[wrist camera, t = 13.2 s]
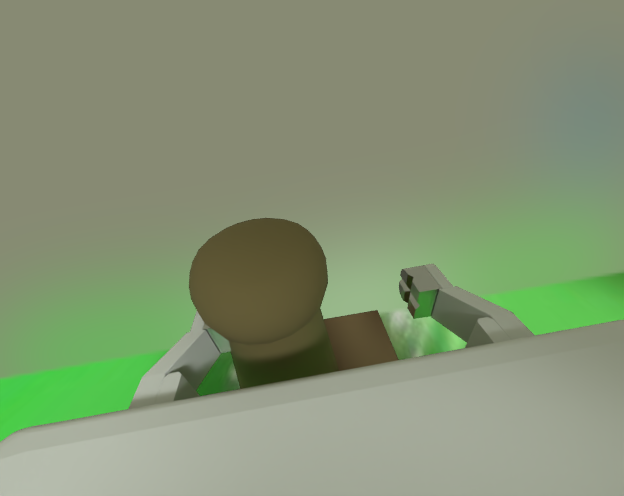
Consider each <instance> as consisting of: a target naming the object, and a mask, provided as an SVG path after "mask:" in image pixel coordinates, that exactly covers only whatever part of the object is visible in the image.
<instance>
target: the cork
mask: <svg viewBox="0 0 624 496" xmlns="http://www.w3.org/2000/svg"><path fill="white" fill-rule="evenodd" d="M327 284H328V275H327V265H326V258H325V255H324V253H323V250H322V248H321V246H320V245H319V243H318V242H317V240H316V239H315V237H314V236H313V235H312V234H311V233H310V232H309V231H308V230H307V229H305V228H304V227H302V226H301V225H299V224H298V223H294V222H291V221H288V220H284V219H273V218H262V219H252V220H248V221H244V222H241V223H237V224H235V225H233V226H230V227H228V228H226V229H224V230H222V231H221V232H219V233H218V234H216V235H215V236H213V237H212V238H210V239H209V240H208V241H207V242H206V243H205V244H204V245H203V246H202V247H201V248H200V249H199V250H198V252H197V255H196V256H195V258H194V260H193V262H192V266H191V270H190V279H189V289H190V295H191V300H192V302H193V304H194V305H195V307H196V309H197V311H198V313H199V315H200V317H201V318H202V320H203V321H204V323H205V324H206V325H207V326H209V327H210V328H211V329H213V330H214V331H216V332H217V333H218V334H220V335H221V336H223V337H224V338H225V339H227V340H228V341H229V344H230V348H231V355H232V358H233V362H234V366H235V370H236V373H237V377H238V381H239V385H240V388H241V389H243V388H249V387H254V386H260V385H265V384H271V383H276V382H282V381H287V380H293V379H298V378H304V377H309V376H315V375H320V374H326V373H331V372H337V371H339V368H338V364H337V361H336V358H335V355H334V351H333V348H332V345H331V342H330V339H329V335H328V332H327V329H326V326H325V322H324V319H323V316H322V313H321V309H320V306H321V304H322V300H323V297H324V294H325V291H326V287H327Z"/></svg>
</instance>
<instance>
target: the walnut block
mask: <svg viewBox="0 0 624 496" xmlns="http://www.w3.org/2000/svg"><path fill="white" fill-rule="evenodd" d="M324 322H325V326H326V329H327V332H328V335H329V339H330V342H331V345H332V348H333V351H334V355H335V358H336V361H337V364H338V368H339V371H343V370H348V369H354V368H359V367H365V366H370V365H375V364H381V363H386V362H392V361H397V360H398V358H397V355H396V353H395V350H394V348H393V346H392V343H391V341H390V339H389V336H388V334H387V332H386V329H385V327H384V325H383V322H382V320H381V318H380V315H379V313H378V311H377V310H376V311H370V312H364V313H358V314H352V315H347V316H341V317H335V318H329V319H324Z"/></svg>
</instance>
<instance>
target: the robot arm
mask: <svg viewBox="0 0 624 496" xmlns="http://www.w3.org/2000/svg"><path fill="white" fill-rule="evenodd" d="M401 277H402V280H401V281H400V282H399V290H400V294H401V297H402V299H403V300H404V301H405V302H407V303H408V309H409V311H410V313H411V315H412V316H413V318H414V319H416V318H422V317H429V316H432V318H433V319H435V320H436V321H438V322H439V323H440V324H442V325H443V326H445V327H446V328H447V329H449V330H450V331H452V332H453V333H454V334H456V335H457V336H459V337H460V338H461V339H463V340H464V341H465V342H467V344H466V347H465V348H463V349H458V350H452V351H447V352H441V353H436V354H430V355H425V356H419V357H414V358H408V359H403V360H397V361H392V362H386V363H381V364H375V365H370V366H365V367H359V368H354V369H348V370H343V371H337V372H331V373H326V374H320V375H315V376H309V377H304V378H298V379H293V380H287V381H282V382H276V383H271V384H265V385H260V386H254V387H249V388H243V389H238V390H232V391H227V392H221V393H216V394H210V395H205V396H200V395H199V394H198V393H197V392H196V390H197V388H198V387H199V385H200V384H201V382H202V381H203V379H204V378H205V376H206V375H207V373H208V372H209V370H210V369H211V367H212V366H213V365H214V363H215V362H216V360H217V359H218V357H219V356H220V353H224V352H229V351H231V348H230V344H229V341H228V340H227V339H225V338H224V337H223V336H221V335H220V334H218V333H217V332H216V331H214V330H213V329H211V328H210V327H209V326H207V325H206V324H205V323H204V321H203V320H202V318H201V317H200V315H199V313H198V311H197V312H196V315H195V318H194V321H193V324H192V328H191V330H190V332H189V333H186V334H185V335H184V336H183V337H182V338H181V339H180V340H179V341H178V342H177V343H176V344H175V345H174V346H173V347H172V348H171V349H170V350H169V351H168V352H167V353H166V354H165V355H164V356H163V357H162V358H161V359H160V360H159V361H158V362H157V363H156V364H155V365H154V366H153V367H152V368H151V369H150V370H149V371H148V372H147V373H146V374H145V375H144V376H143V377H142V379H141V381H140V384H139V386H138V388H137V390H136V393H135V395H134V397H133V400H132V402H131V404H130V407H129V409H127V410H122V411H116V412H111V413H105V414H100V415H94V416H89V417H83V418H78V419H72V420H67V421H61V422H56V423H50V424H44V425H38V426H32V427H28V428H24V429H21V430H18V431H16V432H14V433H12V434H11V435H9V436H8V437H7V438H5V439H4V440H2V441H1V442H0V496H624V320H617V321H612V322H606V323H601V324H595V325H590V326H585V327H579V328H574V329H568V330H563V331H557V332H552V333H546V334H541V335H534V334H533V333H532V332H531V331H530V330H529V329H528V328H527V327H526V326H525V325H524V324H523V323H522V322H521V321H520V320H519V319H518V318H517V317H516V316H515V315H514V314H513V313H512V312H511V311H508V310H506V309H504V308H502V307H500V306H498V305H496V304H493V303H491V302H489V301H487V300H485V299H483V298H481V297H478V296H476V295H474V294H472V293H470V292H468V291H466V290H463V289H461V288H459V287H457V286H455V287H453V286H452V284H451V283H450V282H449V281H448V280H447V278H446V277H445V276H444V275H443V274H442V272H441V271H440V270H439V269H438V268H437V267H436V265H434V264H429V265H423V266H418V267H412V268H406V269H402V271H401Z"/></svg>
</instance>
